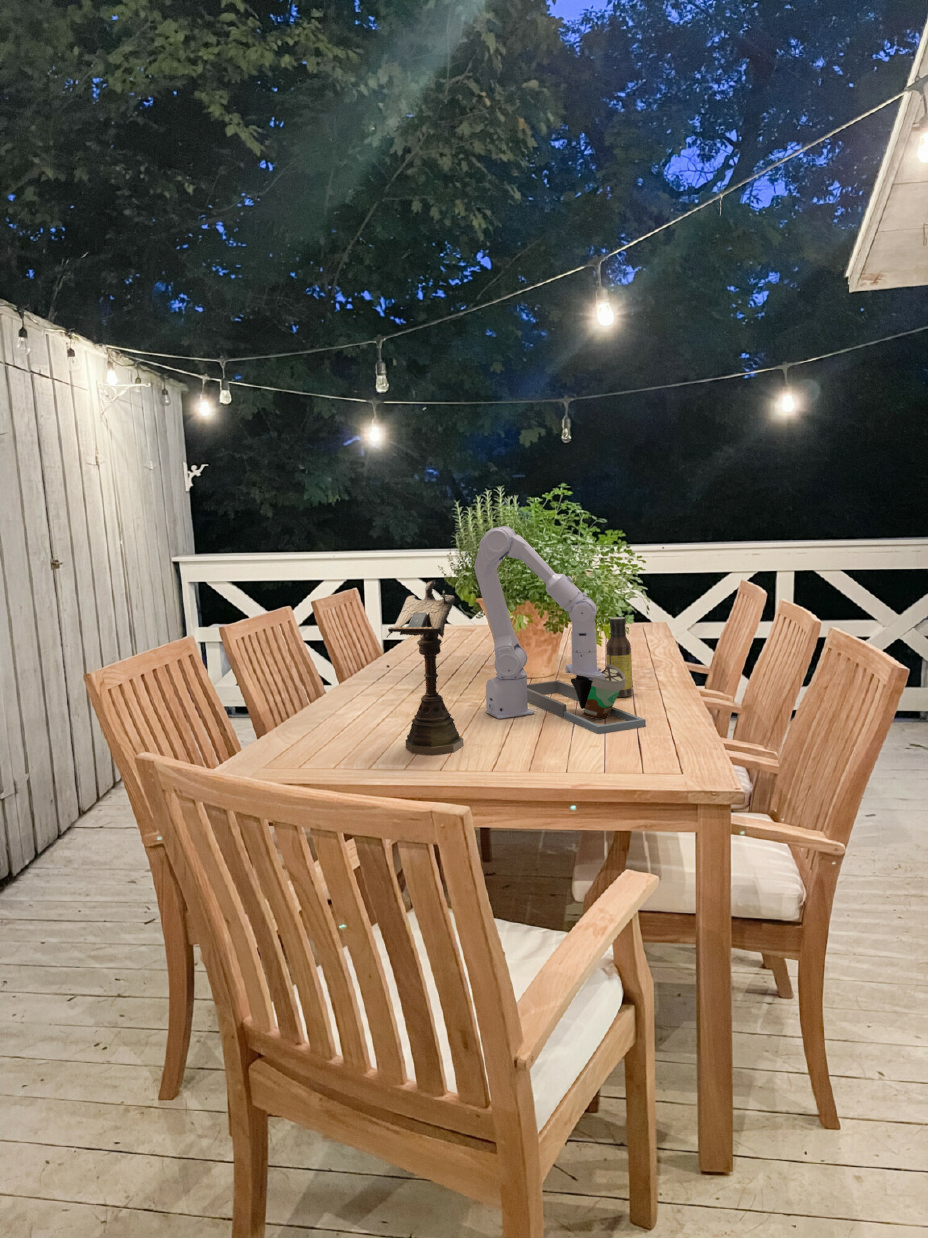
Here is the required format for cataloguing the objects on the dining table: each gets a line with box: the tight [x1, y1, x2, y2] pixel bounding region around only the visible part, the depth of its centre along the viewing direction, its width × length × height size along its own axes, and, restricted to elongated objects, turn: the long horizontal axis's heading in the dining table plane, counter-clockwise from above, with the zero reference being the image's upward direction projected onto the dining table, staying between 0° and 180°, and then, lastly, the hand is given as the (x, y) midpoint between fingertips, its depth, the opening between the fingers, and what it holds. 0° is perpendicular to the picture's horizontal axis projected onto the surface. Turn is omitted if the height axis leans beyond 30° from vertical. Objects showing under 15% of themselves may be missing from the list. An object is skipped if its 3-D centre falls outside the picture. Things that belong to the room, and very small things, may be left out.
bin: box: [527, 679, 579, 719], centre depth 204 cm, size 12×24×3 cm, turn 22°
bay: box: [563, 706, 647, 735], centre depth 186 cm, size 12×15×2 cm
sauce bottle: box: [605, 616, 634, 698], centre depth 209 cm, size 6×6×20 cm
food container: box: [582, 662, 625, 720], centre depth 190 cm, size 12×6×10 cm, turn 156°
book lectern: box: [386, 579, 465, 756], centre depth 168 cm, size 17×13×35 cm
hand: (585, 708), depth 193 cm, fingers closed, pressing on food container
